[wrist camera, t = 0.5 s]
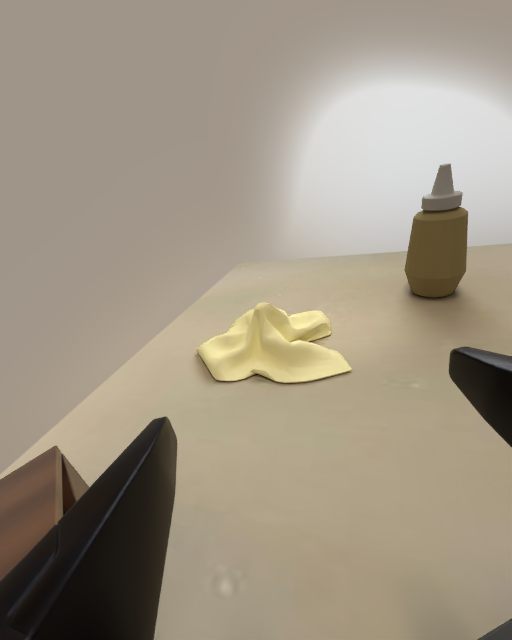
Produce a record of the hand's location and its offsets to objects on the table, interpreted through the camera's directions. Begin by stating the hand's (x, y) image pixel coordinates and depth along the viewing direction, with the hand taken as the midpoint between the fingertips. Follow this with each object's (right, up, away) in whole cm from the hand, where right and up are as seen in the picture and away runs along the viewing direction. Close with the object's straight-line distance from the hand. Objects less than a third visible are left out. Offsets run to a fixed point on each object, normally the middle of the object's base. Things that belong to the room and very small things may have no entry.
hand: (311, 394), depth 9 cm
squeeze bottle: (+26, +7, +37) cm, 46 cm away
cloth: (+1, -1, +32) cm, 32 cm away
